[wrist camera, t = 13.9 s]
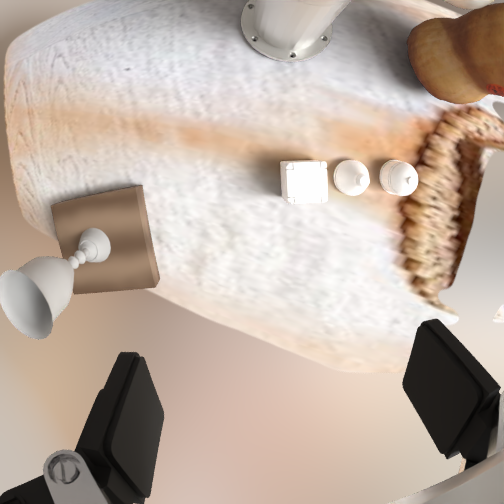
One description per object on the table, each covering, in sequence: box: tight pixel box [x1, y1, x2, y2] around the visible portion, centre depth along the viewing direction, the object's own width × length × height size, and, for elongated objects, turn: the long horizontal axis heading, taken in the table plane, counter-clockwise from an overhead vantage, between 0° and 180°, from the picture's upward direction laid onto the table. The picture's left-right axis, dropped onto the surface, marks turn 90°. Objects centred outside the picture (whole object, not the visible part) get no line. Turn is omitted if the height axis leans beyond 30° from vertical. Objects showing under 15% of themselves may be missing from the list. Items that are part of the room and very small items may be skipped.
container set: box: [280, 160, 418, 204], centre depth 38 cm, size 20×5×6 cm, turn 94°
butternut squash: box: [407, 3, 504, 104], centre depth 23 cm, size 14×13×25 cm
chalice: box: [0, 228, 111, 340], centre depth 30 cm, size 7×7×18 cm
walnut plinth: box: [51, 185, 160, 294], centre depth 40 cm, size 14×14×3 cm
